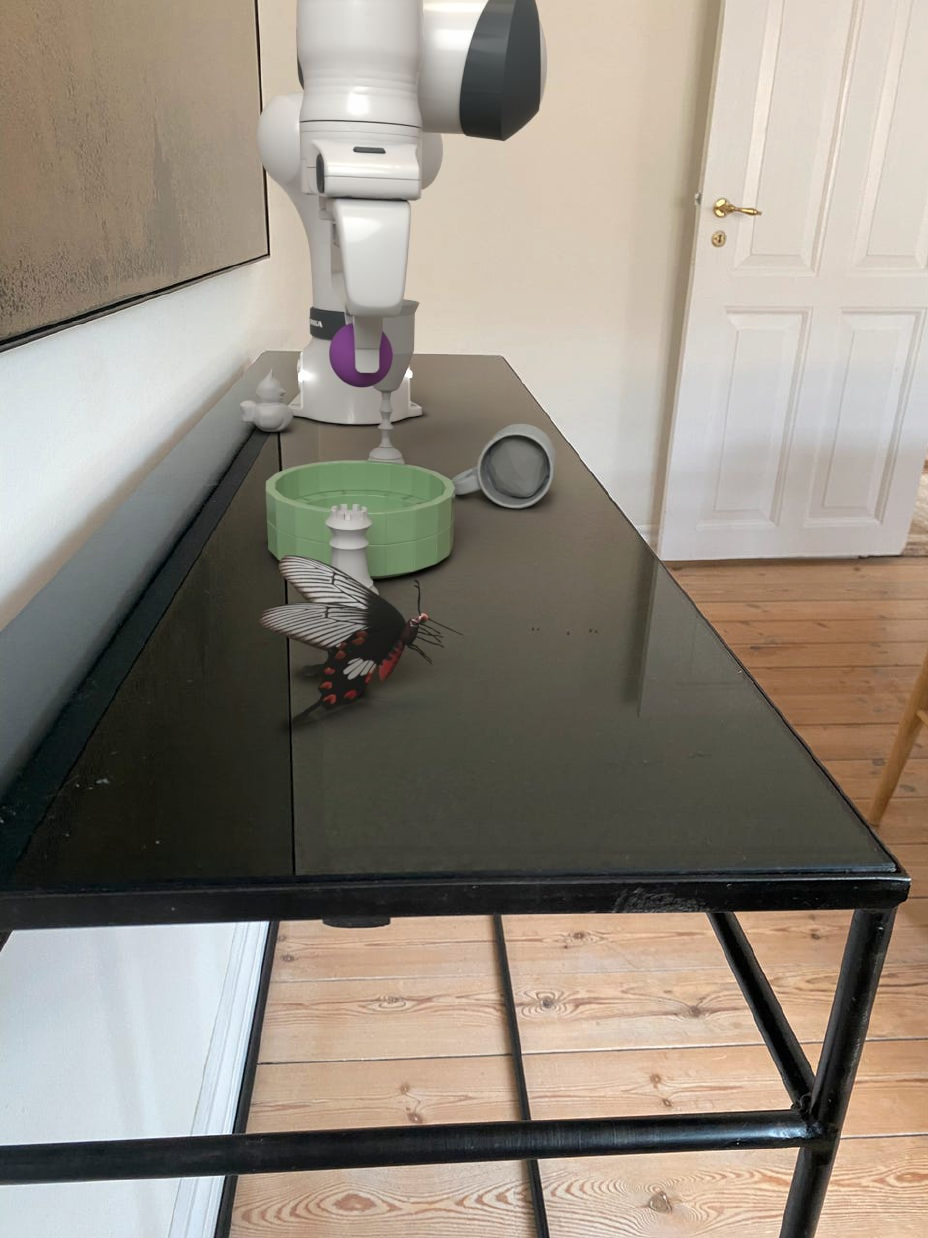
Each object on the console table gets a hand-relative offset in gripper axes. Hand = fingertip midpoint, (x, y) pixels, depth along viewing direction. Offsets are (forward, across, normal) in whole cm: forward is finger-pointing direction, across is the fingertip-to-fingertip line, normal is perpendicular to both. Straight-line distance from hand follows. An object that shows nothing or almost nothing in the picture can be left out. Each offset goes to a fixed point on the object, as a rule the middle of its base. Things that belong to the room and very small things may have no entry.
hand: (362, 365), depth 74 cm
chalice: (+16, -26, +5) cm, 31 cm away
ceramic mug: (+16, -15, +16) cm, 27 cm away
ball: (-1, 0, 0) cm, 1 cm away
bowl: (+16, 0, 0) cm, 16 cm away
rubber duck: (+16, -45, -8) cm, 48 cm away
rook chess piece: (+16, +13, -2) cm, 21 cm away
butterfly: (+16, +27, -3) cm, 32 cm away
